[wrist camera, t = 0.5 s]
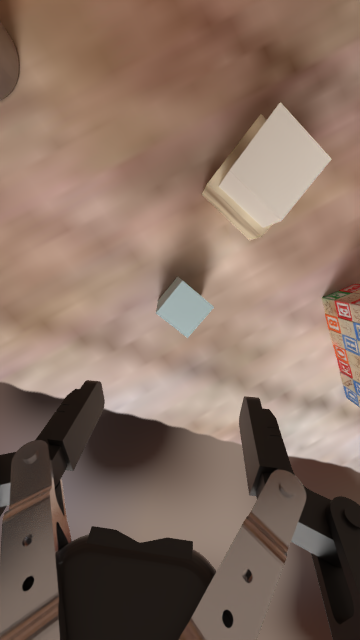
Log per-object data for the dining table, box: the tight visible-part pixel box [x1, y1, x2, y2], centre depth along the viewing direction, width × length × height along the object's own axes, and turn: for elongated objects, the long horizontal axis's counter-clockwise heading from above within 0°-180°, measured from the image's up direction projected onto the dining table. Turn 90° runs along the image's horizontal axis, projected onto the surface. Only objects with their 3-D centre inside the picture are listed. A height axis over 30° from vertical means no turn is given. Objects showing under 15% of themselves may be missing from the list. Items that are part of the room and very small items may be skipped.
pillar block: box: [156, 277, 214, 338], centre depth 32 cm, size 5×5×10 cm
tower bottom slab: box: [202, 114, 271, 240], centre depth 31 cm, size 10×10×5 cm
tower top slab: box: [219, 102, 331, 228], centre depth 27 cm, size 8×8×5 cm
